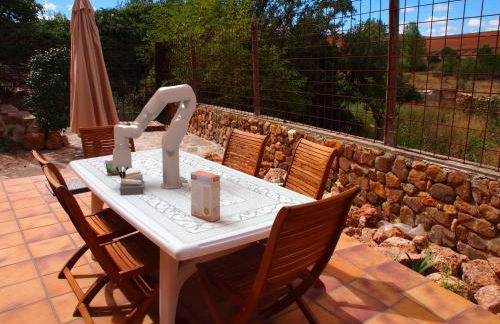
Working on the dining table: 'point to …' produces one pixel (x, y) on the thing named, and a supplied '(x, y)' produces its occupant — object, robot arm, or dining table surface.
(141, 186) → the grey switch panel
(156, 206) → the dining table surface
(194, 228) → the dining table surface
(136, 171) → the rocker far
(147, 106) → the robot arm
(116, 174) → the food container
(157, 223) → the dining table surface
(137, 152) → the dining table surface
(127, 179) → the rocker near
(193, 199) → the cracker box
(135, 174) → the rocker middle
